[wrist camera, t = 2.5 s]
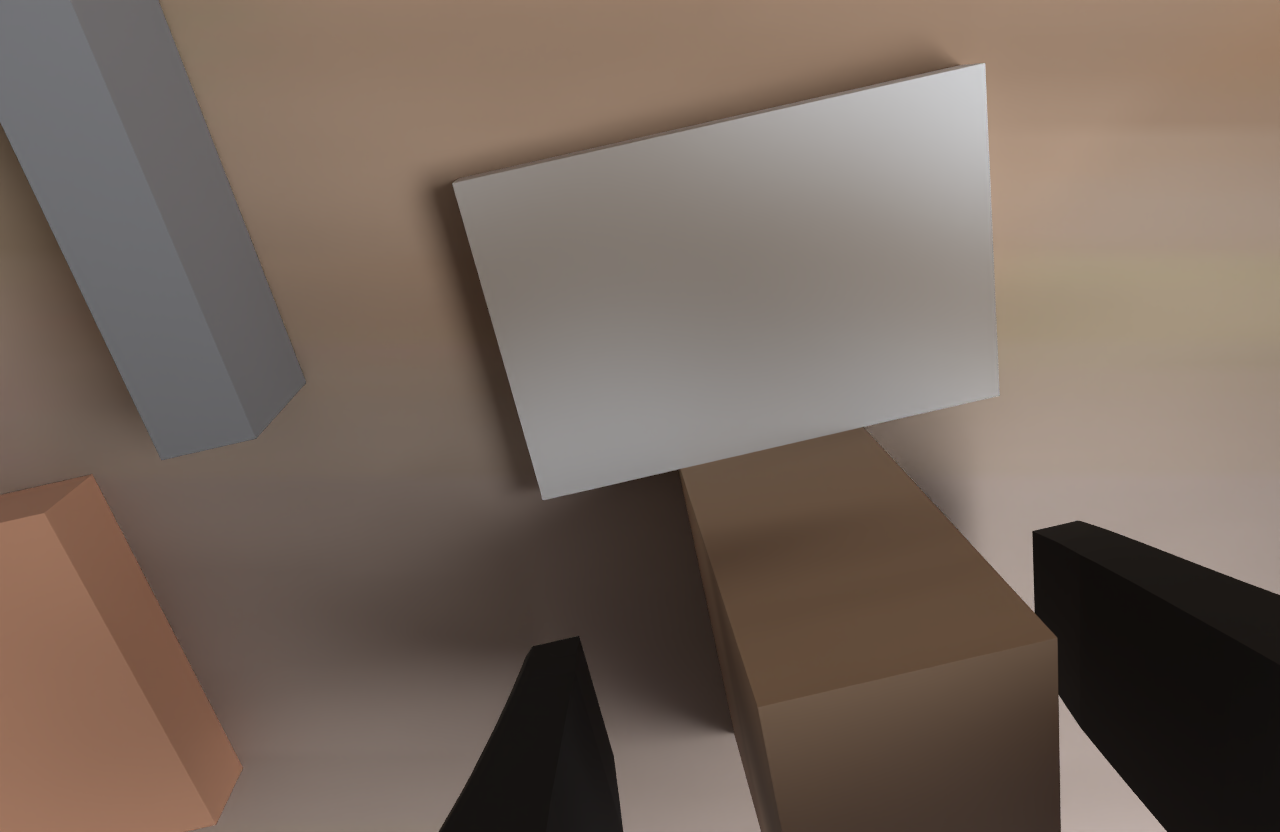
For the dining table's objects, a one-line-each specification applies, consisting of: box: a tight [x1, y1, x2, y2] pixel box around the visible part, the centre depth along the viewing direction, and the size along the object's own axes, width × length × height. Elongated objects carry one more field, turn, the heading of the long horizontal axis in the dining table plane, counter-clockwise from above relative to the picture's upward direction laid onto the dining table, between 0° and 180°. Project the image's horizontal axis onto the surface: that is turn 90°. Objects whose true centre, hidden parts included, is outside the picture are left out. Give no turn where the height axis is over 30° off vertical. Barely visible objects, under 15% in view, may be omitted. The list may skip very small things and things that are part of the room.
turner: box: [452, 63, 1061, 832], centre depth 9 cm, size 9×6×5 cm, turn 12°
